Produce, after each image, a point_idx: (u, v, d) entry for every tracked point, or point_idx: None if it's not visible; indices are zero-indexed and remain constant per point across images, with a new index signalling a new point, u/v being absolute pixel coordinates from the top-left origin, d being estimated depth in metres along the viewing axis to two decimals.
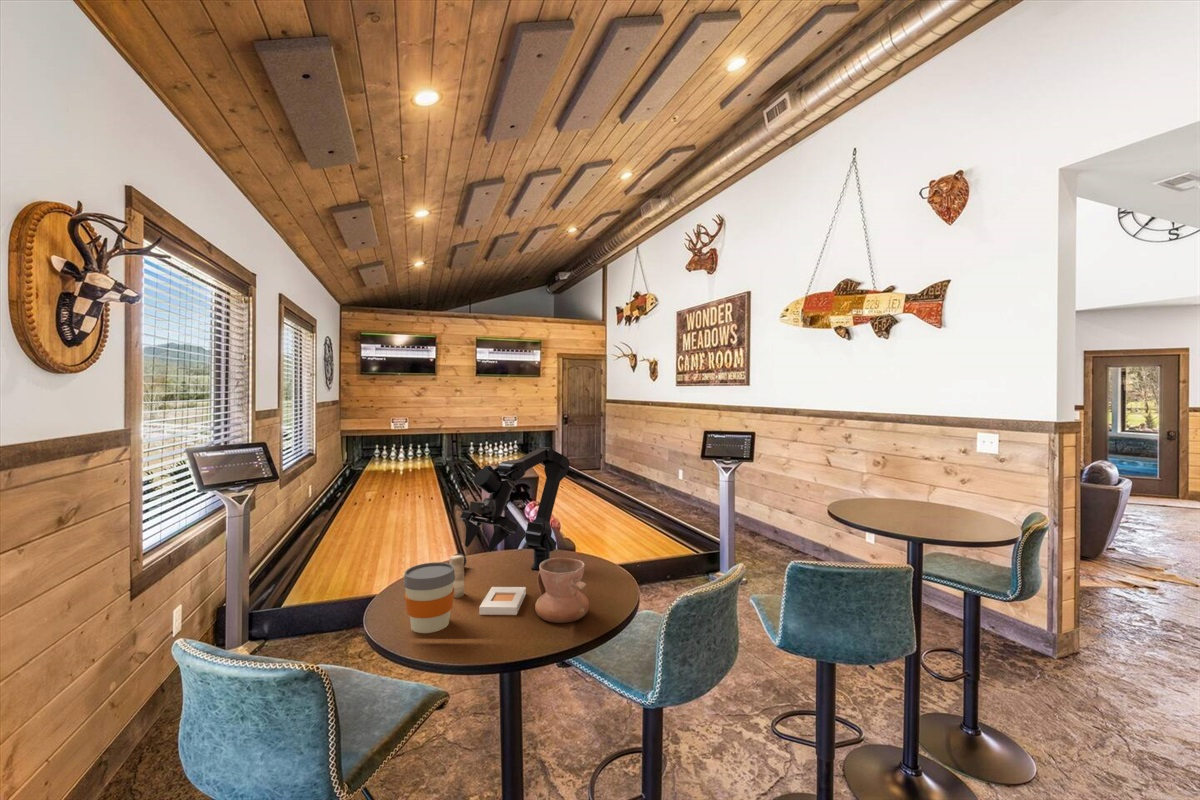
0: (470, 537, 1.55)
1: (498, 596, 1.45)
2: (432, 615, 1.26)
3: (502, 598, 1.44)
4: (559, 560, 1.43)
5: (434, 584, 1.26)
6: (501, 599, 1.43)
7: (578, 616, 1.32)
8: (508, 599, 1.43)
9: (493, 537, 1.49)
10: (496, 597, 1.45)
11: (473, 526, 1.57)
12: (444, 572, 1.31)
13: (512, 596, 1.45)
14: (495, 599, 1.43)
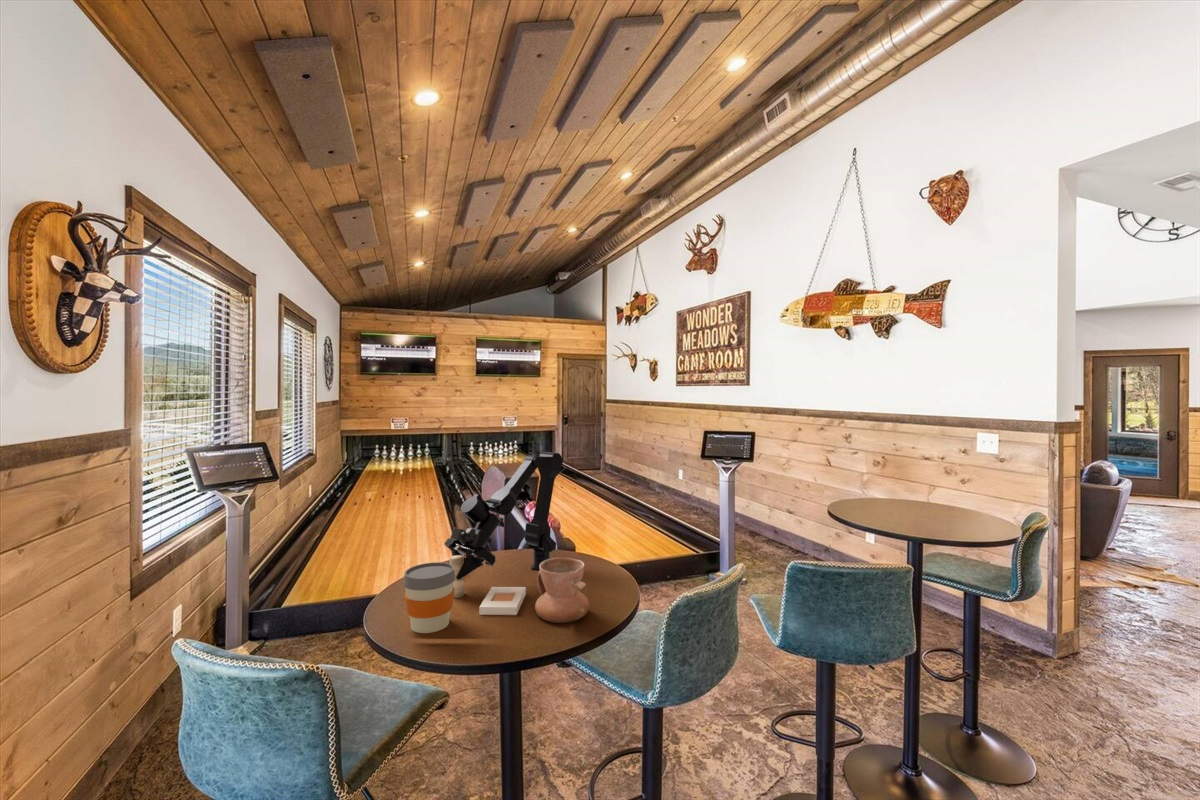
0: None
1: (498, 596, 1.45)
2: (432, 615, 1.26)
3: (502, 598, 1.44)
4: (559, 560, 1.43)
5: (434, 584, 1.26)
6: (501, 599, 1.43)
7: (578, 616, 1.32)
8: (508, 599, 1.43)
9: (464, 565, 1.49)
10: (496, 597, 1.45)
11: None
12: (444, 572, 1.31)
13: (512, 596, 1.45)
14: (495, 599, 1.43)
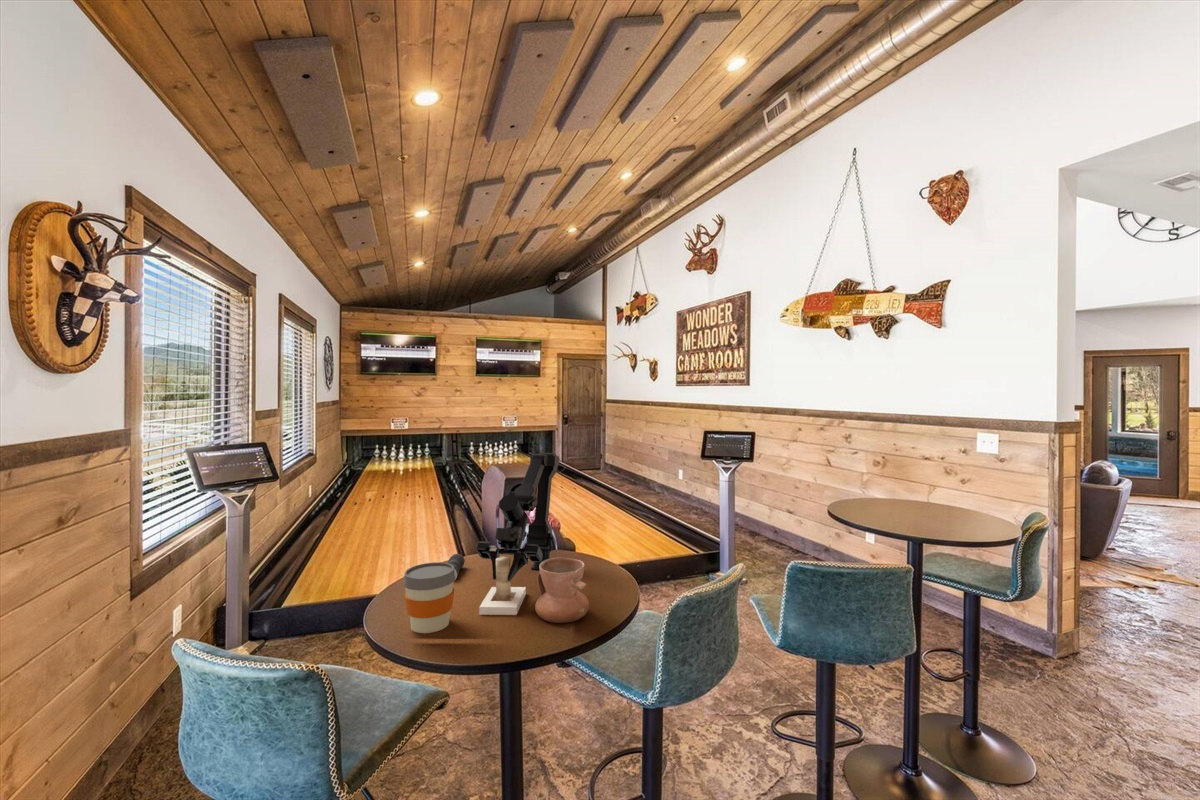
0: None
1: None
2: (432, 615, 1.26)
3: None
4: (559, 560, 1.43)
5: (434, 584, 1.26)
6: None
7: (578, 616, 1.32)
8: None
9: (513, 565, 1.44)
10: None
11: None
12: (444, 572, 1.31)
13: (512, 599, 1.45)
14: None
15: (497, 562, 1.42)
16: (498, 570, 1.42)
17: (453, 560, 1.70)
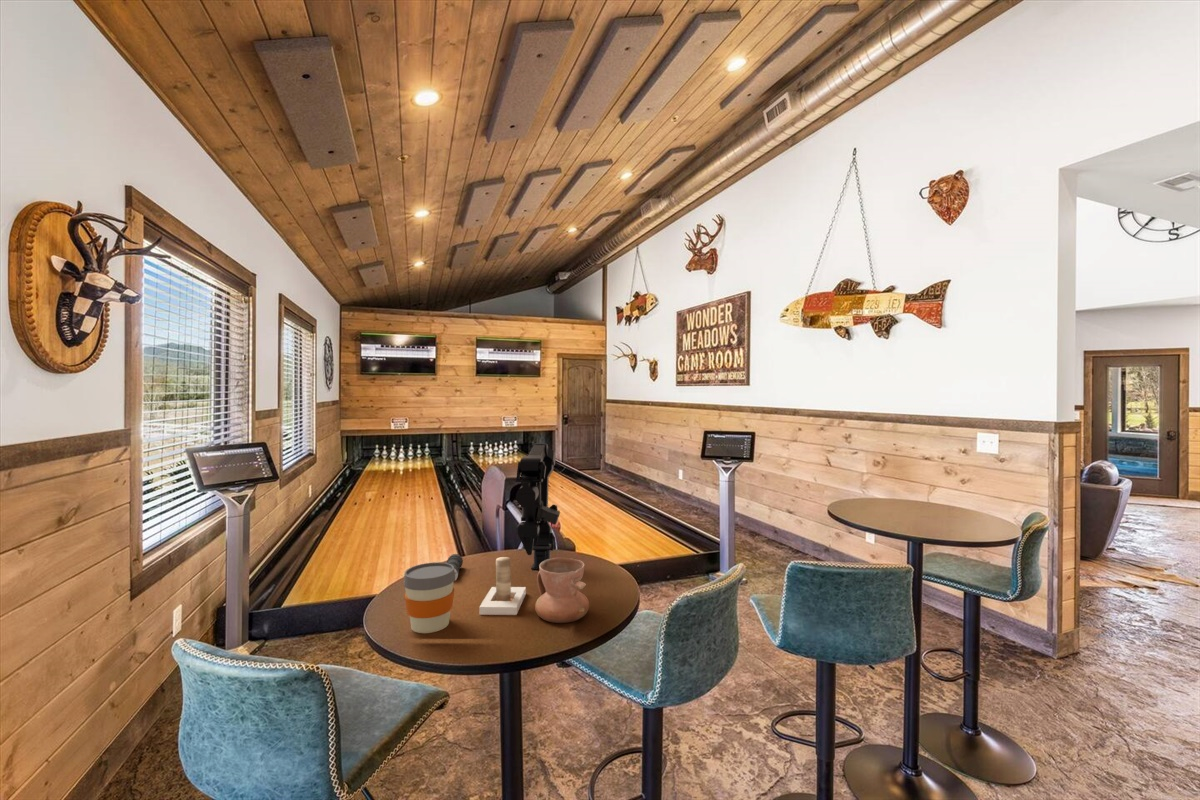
0: None
1: None
2: (432, 615, 1.26)
3: None
4: (559, 560, 1.43)
5: (434, 584, 1.26)
6: None
7: (578, 616, 1.32)
8: None
9: None
10: None
11: None
12: (444, 572, 1.31)
13: None
14: None
15: (497, 562, 1.42)
16: (498, 571, 1.42)
17: (452, 560, 1.70)
